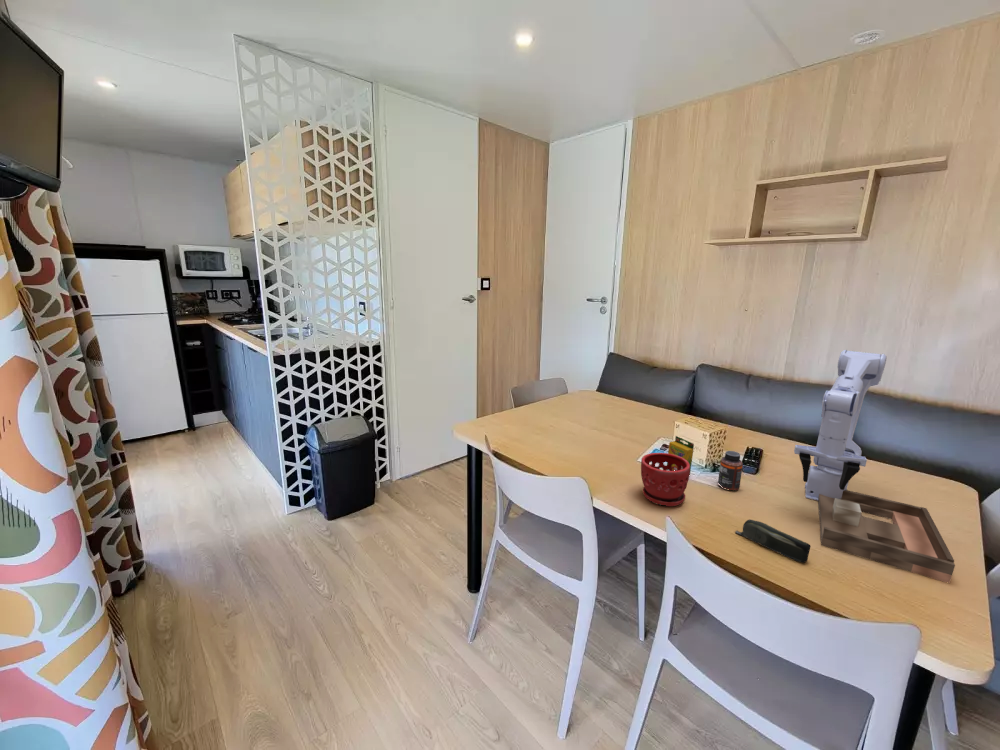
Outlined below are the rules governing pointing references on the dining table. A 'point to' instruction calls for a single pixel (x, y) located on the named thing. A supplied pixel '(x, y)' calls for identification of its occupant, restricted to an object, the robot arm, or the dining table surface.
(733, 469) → the supplement bottle
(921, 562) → the frame
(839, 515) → the block
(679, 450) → the crayon box
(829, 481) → the robot arm
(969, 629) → the dining table surface
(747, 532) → the mobile phone
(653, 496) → the plant pot
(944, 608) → the dining table surface
